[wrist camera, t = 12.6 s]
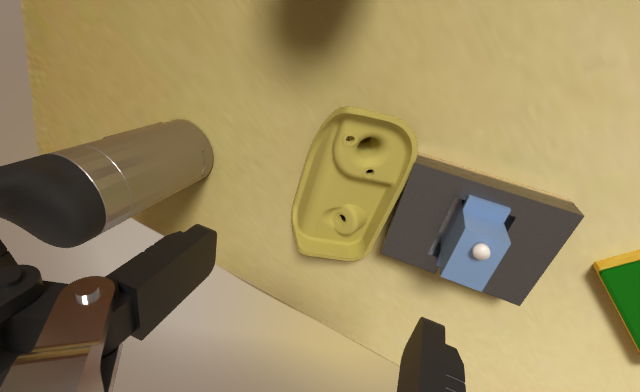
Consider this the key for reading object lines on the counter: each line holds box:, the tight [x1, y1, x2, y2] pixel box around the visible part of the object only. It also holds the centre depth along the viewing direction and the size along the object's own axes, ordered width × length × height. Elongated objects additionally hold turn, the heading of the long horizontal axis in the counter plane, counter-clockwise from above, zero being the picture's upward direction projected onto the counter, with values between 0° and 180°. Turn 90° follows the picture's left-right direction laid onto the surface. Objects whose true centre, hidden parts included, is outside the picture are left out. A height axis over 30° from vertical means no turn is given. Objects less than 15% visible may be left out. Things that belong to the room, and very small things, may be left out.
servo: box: [436, 195, 511, 292], centre depth 33 cm, size 4×9×8 cm, turn 168°
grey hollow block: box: [381, 152, 584, 306], centre depth 36 cm, size 16×12×4 cm
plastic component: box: [292, 106, 418, 261], centre depth 38 cm, size 20×7×10 cm
